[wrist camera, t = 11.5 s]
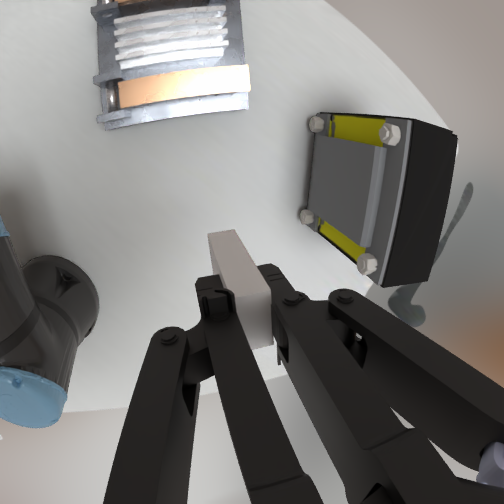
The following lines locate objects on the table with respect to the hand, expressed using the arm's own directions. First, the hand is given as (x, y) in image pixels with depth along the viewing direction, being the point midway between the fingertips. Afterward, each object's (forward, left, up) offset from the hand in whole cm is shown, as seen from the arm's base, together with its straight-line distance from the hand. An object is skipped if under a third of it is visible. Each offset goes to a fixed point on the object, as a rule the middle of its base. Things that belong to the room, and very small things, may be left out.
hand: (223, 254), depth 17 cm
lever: (0, +12, -20) cm, 23 cm away
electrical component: (+21, -2, -27) cm, 34 cm away
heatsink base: (-1, +18, -26) cm, 32 cm away
